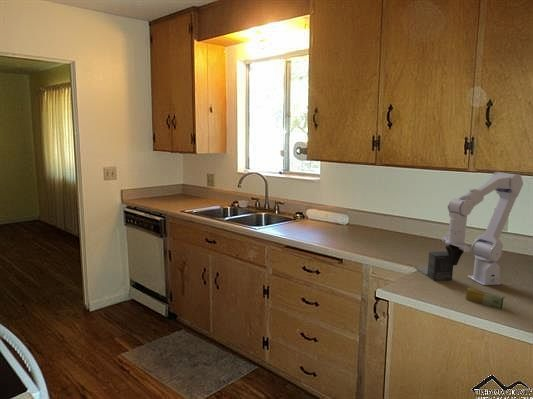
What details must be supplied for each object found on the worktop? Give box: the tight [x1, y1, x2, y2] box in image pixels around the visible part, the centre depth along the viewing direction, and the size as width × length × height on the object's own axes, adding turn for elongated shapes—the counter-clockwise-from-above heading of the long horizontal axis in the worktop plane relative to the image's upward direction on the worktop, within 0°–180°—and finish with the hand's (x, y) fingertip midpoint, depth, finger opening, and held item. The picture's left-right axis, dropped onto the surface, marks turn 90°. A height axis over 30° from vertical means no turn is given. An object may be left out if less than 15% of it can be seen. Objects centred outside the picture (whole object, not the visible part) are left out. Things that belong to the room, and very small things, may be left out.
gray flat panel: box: [414, 266, 428, 276], centre depth 177 cm, size 9×8×1 cm
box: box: [426, 250, 454, 282], centre depth 169 cm, size 8×6×11 cm
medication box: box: [465, 287, 506, 310], centre depth 146 cm, size 12×3×4 cm, turn 48°
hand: (453, 264), depth 161 cm, fingers closed
